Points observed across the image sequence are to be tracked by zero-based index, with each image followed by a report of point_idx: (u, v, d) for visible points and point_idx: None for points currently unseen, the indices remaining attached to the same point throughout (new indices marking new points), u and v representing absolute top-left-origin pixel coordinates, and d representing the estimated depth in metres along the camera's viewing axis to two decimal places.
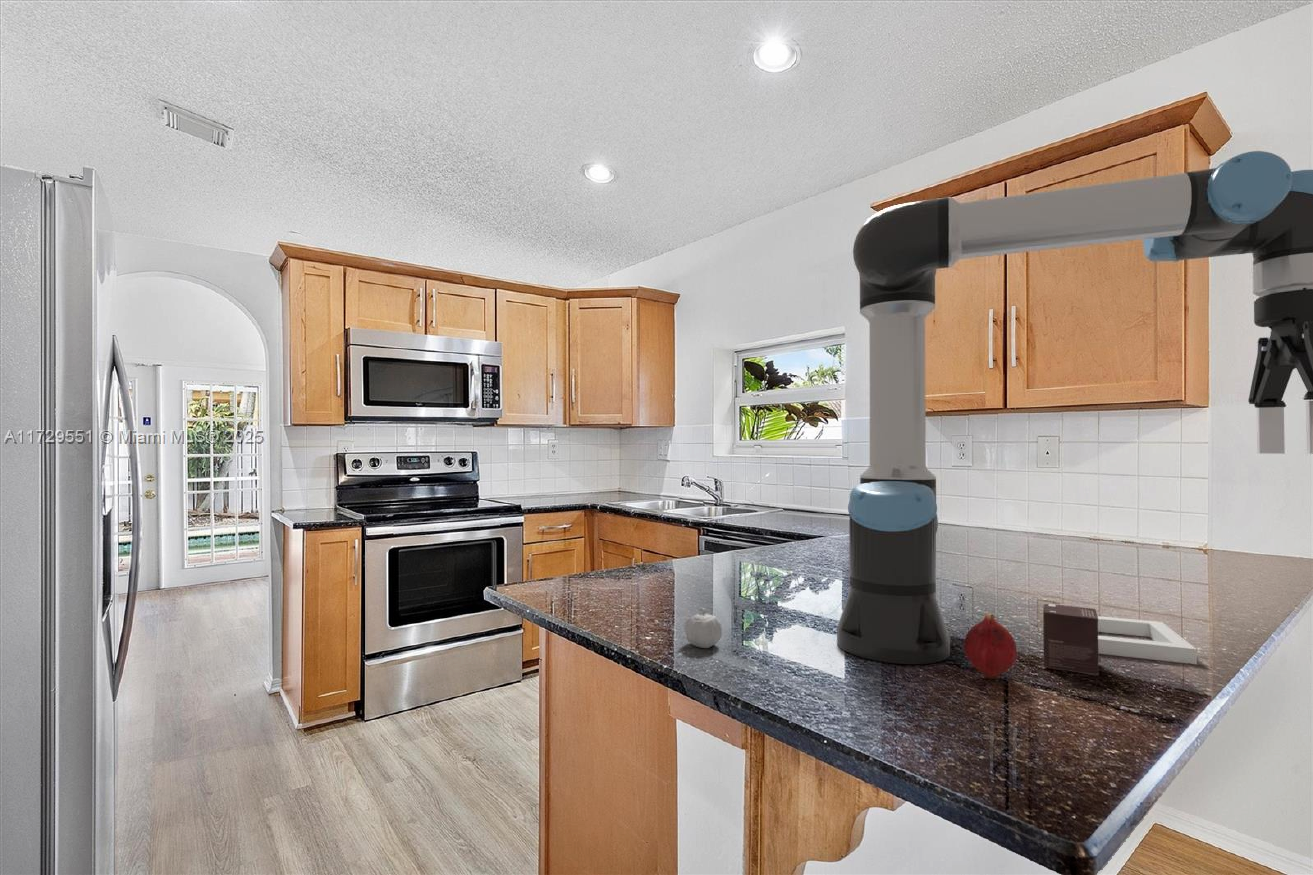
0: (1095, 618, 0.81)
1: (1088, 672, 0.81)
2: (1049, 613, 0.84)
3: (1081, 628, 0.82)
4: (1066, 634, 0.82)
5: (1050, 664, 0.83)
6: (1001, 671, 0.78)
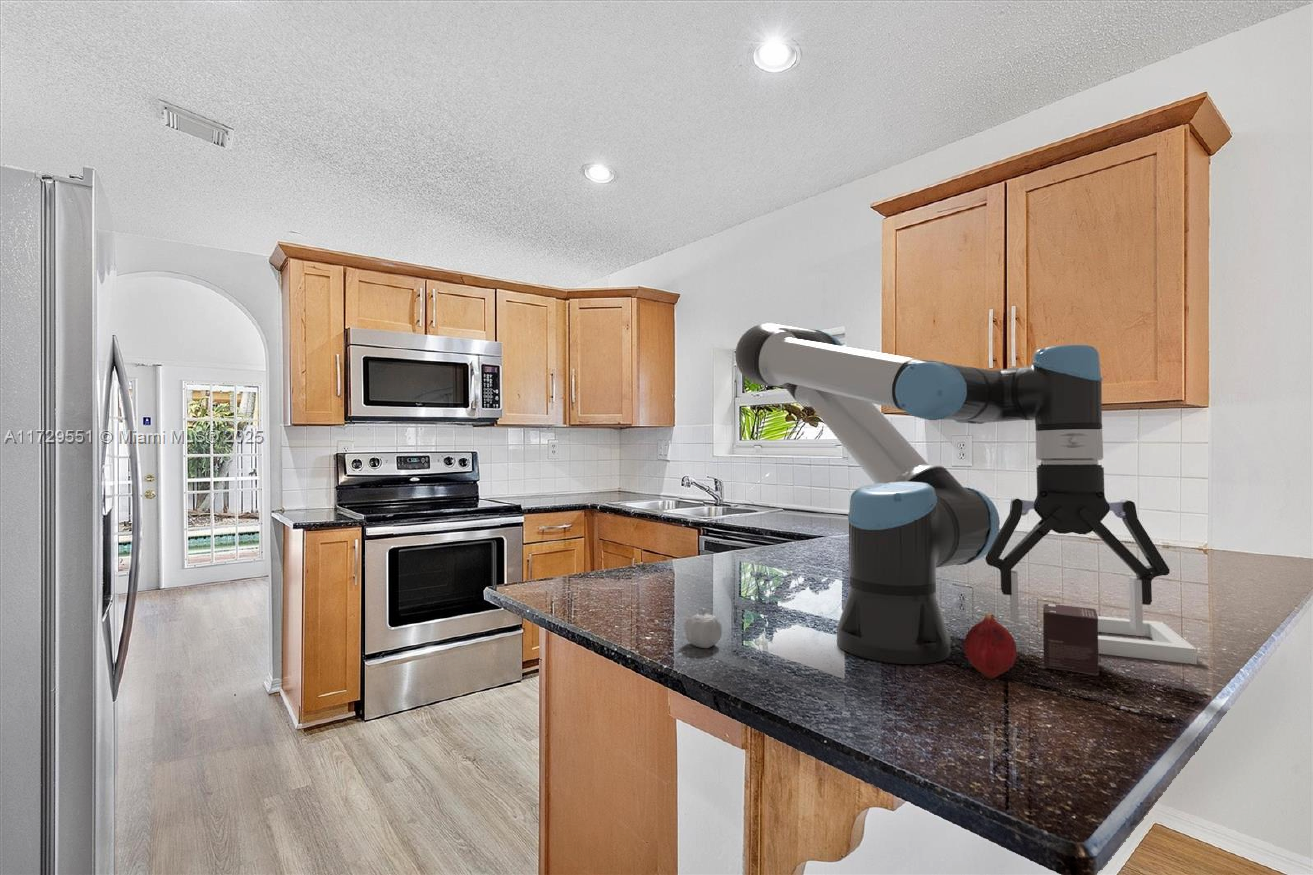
0: (1095, 618, 0.81)
1: (1088, 672, 0.81)
2: (1049, 613, 0.84)
3: (1081, 628, 0.82)
4: (1066, 634, 0.82)
5: (1050, 664, 0.83)
6: (1001, 671, 0.78)
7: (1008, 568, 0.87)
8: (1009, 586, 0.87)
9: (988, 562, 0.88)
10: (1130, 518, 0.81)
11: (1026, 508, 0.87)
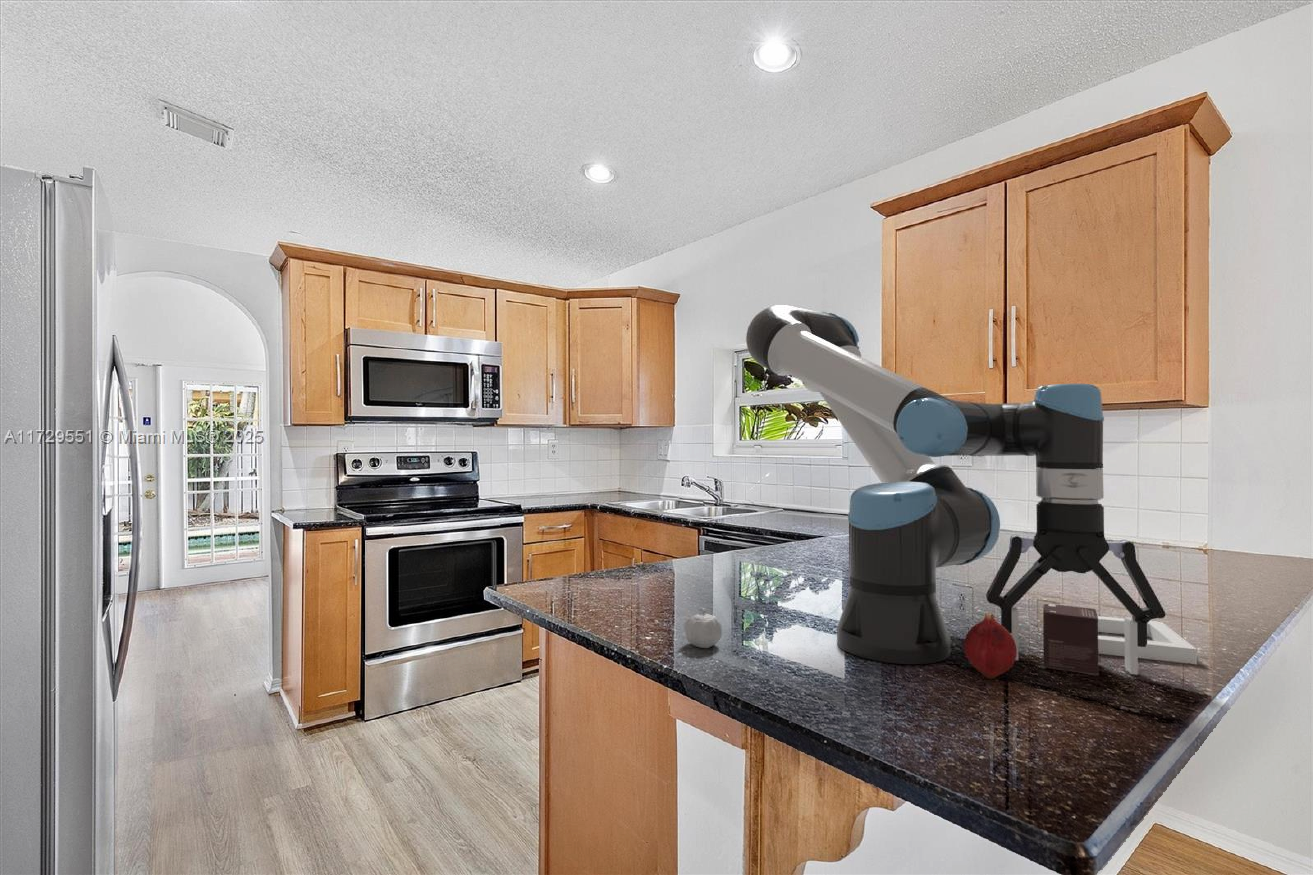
0: (1095, 618, 0.81)
1: (1088, 672, 0.81)
2: (1049, 613, 0.84)
3: (1081, 628, 0.82)
4: (1066, 634, 0.82)
5: (1050, 664, 0.83)
6: (1001, 671, 0.78)
7: (1009, 606, 0.87)
8: (1009, 625, 0.87)
9: (989, 600, 0.88)
10: (1129, 559, 0.81)
11: (1025, 545, 0.87)
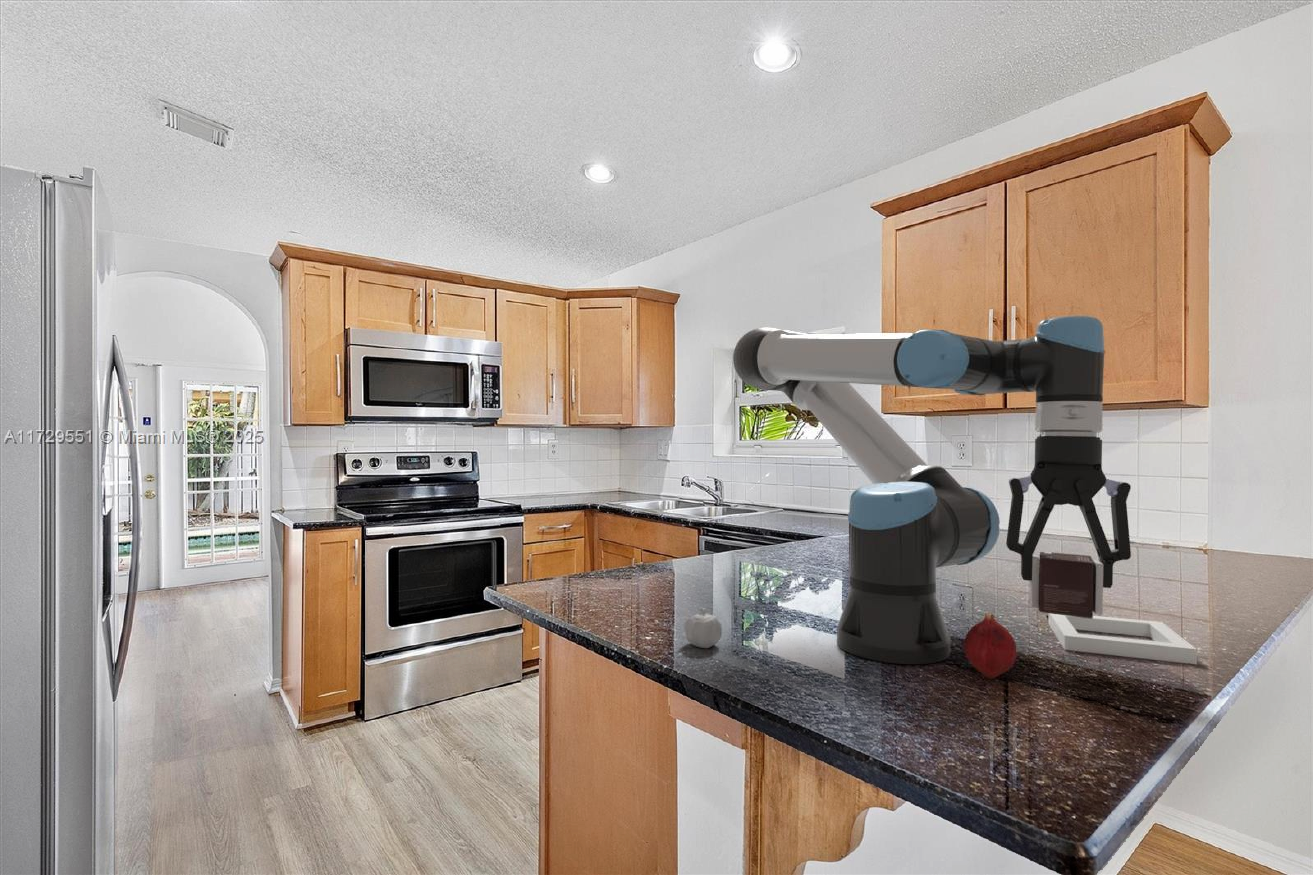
0: (1091, 562, 0.82)
1: (1082, 616, 0.82)
2: (1045, 558, 0.84)
3: (1076, 573, 0.82)
4: (1062, 579, 0.83)
5: (1045, 608, 0.84)
6: (1001, 671, 0.78)
7: (1030, 553, 0.86)
8: (1030, 572, 0.86)
9: (1010, 548, 0.87)
10: (1119, 499, 0.82)
11: (1025, 484, 0.87)
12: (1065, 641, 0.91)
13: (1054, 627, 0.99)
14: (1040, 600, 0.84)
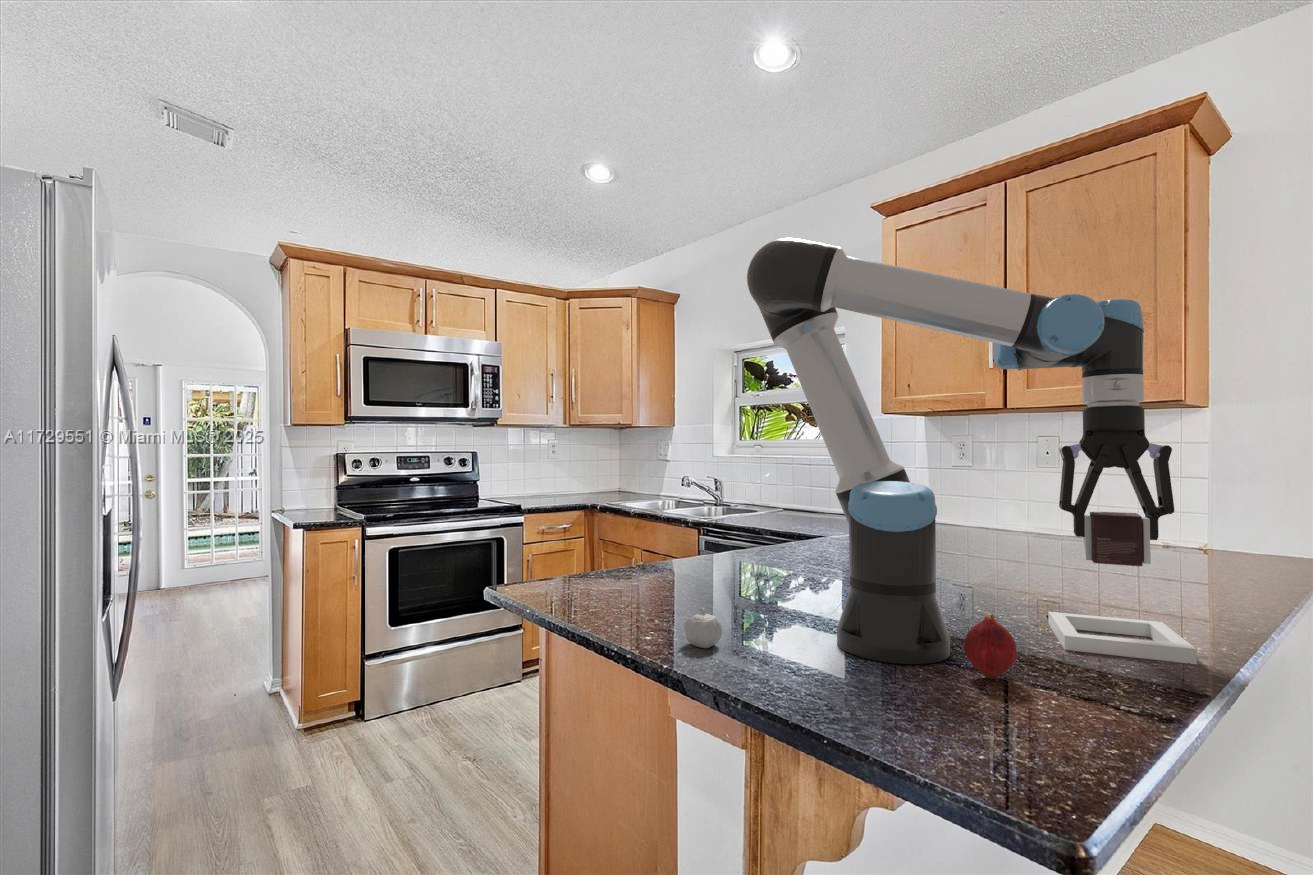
0: (1139, 516, 0.92)
1: (1133, 564, 0.92)
2: (1097, 515, 0.94)
3: (1126, 526, 0.92)
4: (1113, 532, 0.93)
5: (1099, 559, 0.94)
6: (1001, 671, 0.78)
7: (1082, 512, 0.96)
8: (1082, 529, 0.96)
9: (1064, 508, 0.97)
10: (1162, 460, 0.92)
11: (1075, 451, 0.97)
12: (1065, 641, 0.91)
13: (1054, 627, 0.99)
14: (1094, 552, 0.94)
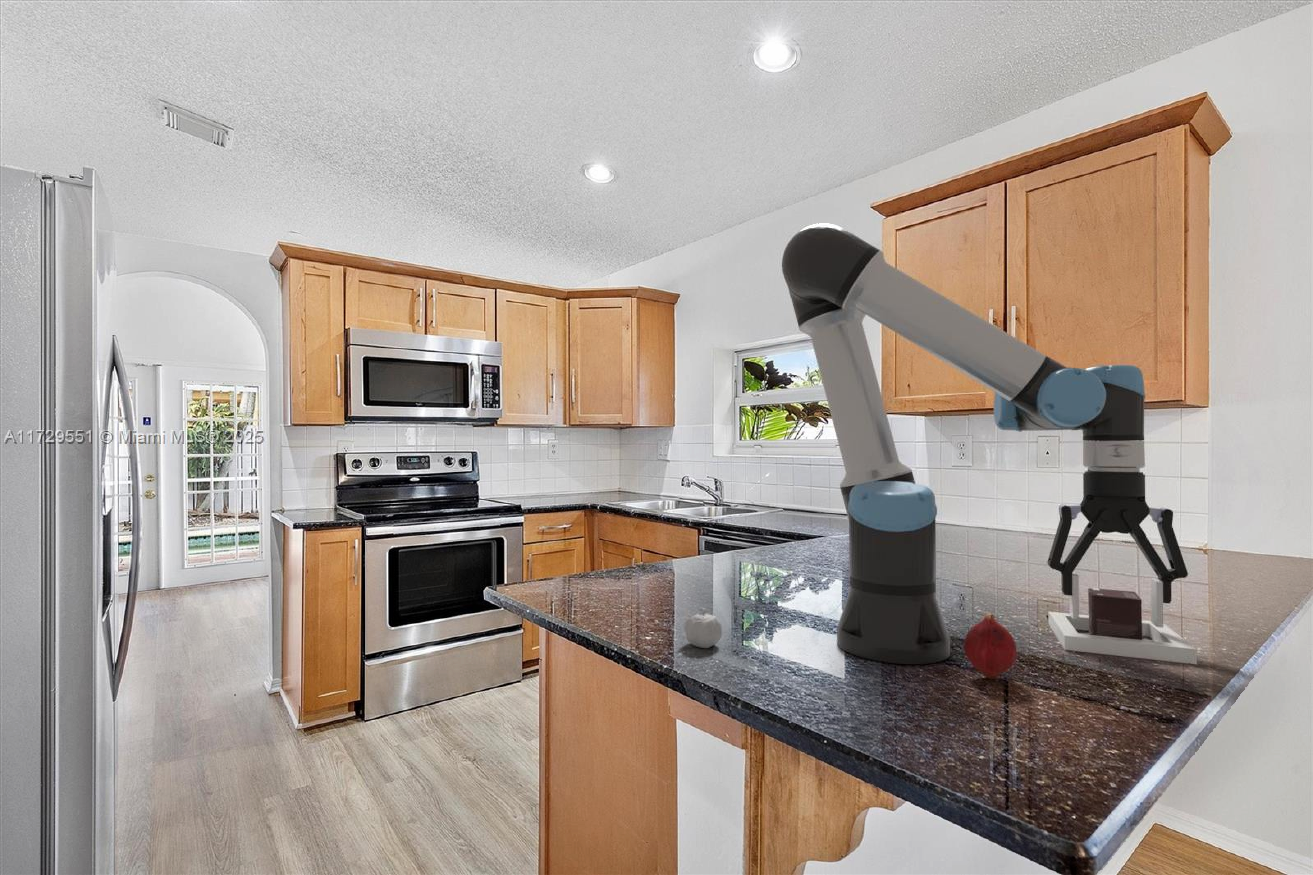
0: (1139, 599, 0.91)
1: None
2: (1097, 596, 0.94)
3: (1126, 608, 0.92)
4: (1113, 614, 0.93)
5: None
6: (1001, 671, 0.78)
7: (1070, 571, 0.96)
8: (1070, 588, 0.97)
9: (1051, 566, 0.97)
10: (1165, 524, 0.92)
11: (1074, 512, 0.97)
12: (1065, 641, 0.91)
13: (1054, 627, 0.99)
14: (1094, 633, 0.94)
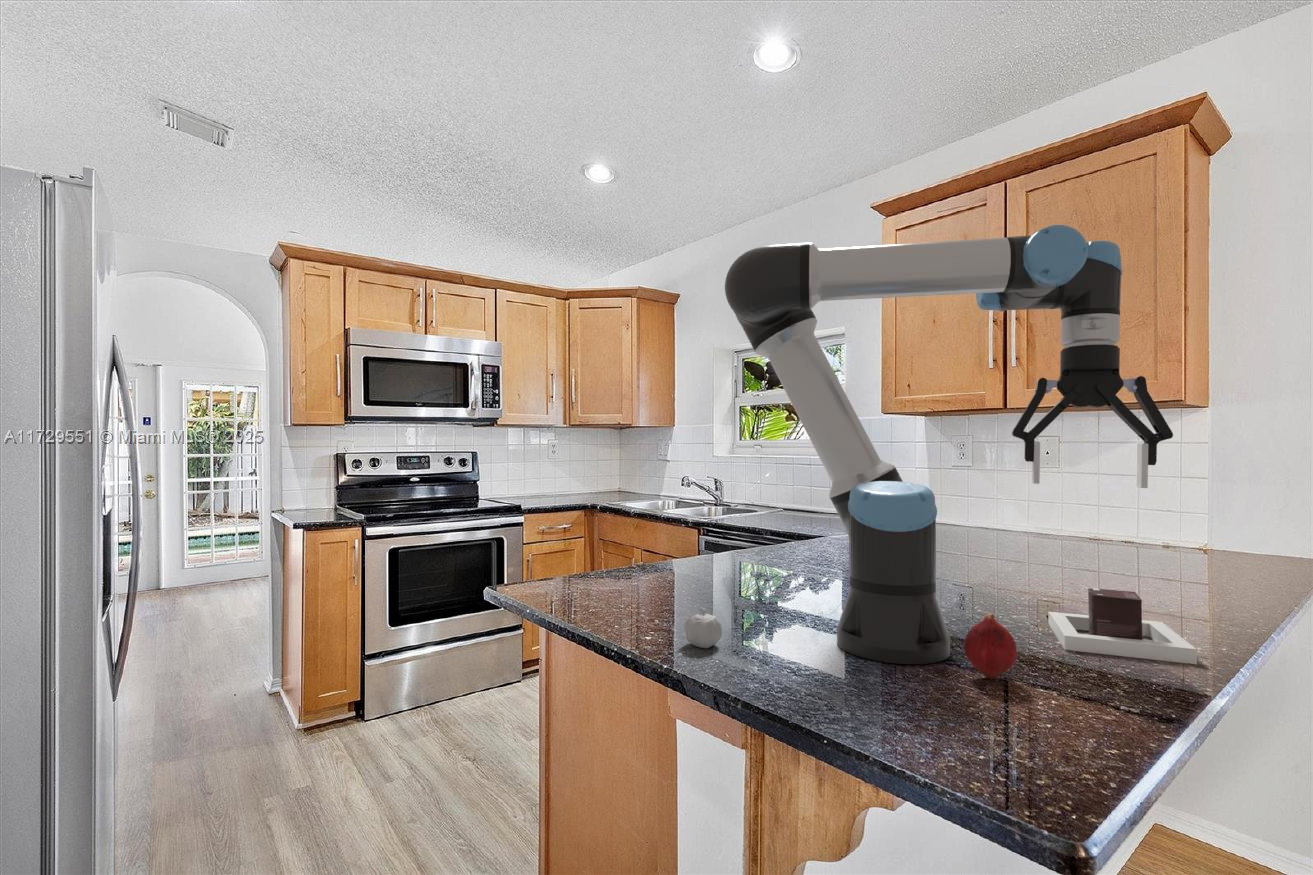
0: (1139, 599, 0.91)
1: None
2: (1097, 596, 0.94)
3: (1126, 609, 0.92)
4: (1113, 614, 0.93)
5: None
6: (1001, 671, 0.78)
7: (1032, 438, 1.00)
8: (1032, 454, 1.00)
9: (1014, 433, 1.01)
10: (1141, 391, 0.94)
11: (1050, 386, 1.00)
12: (1065, 641, 0.91)
13: (1054, 627, 0.99)
14: (1094, 633, 0.94)
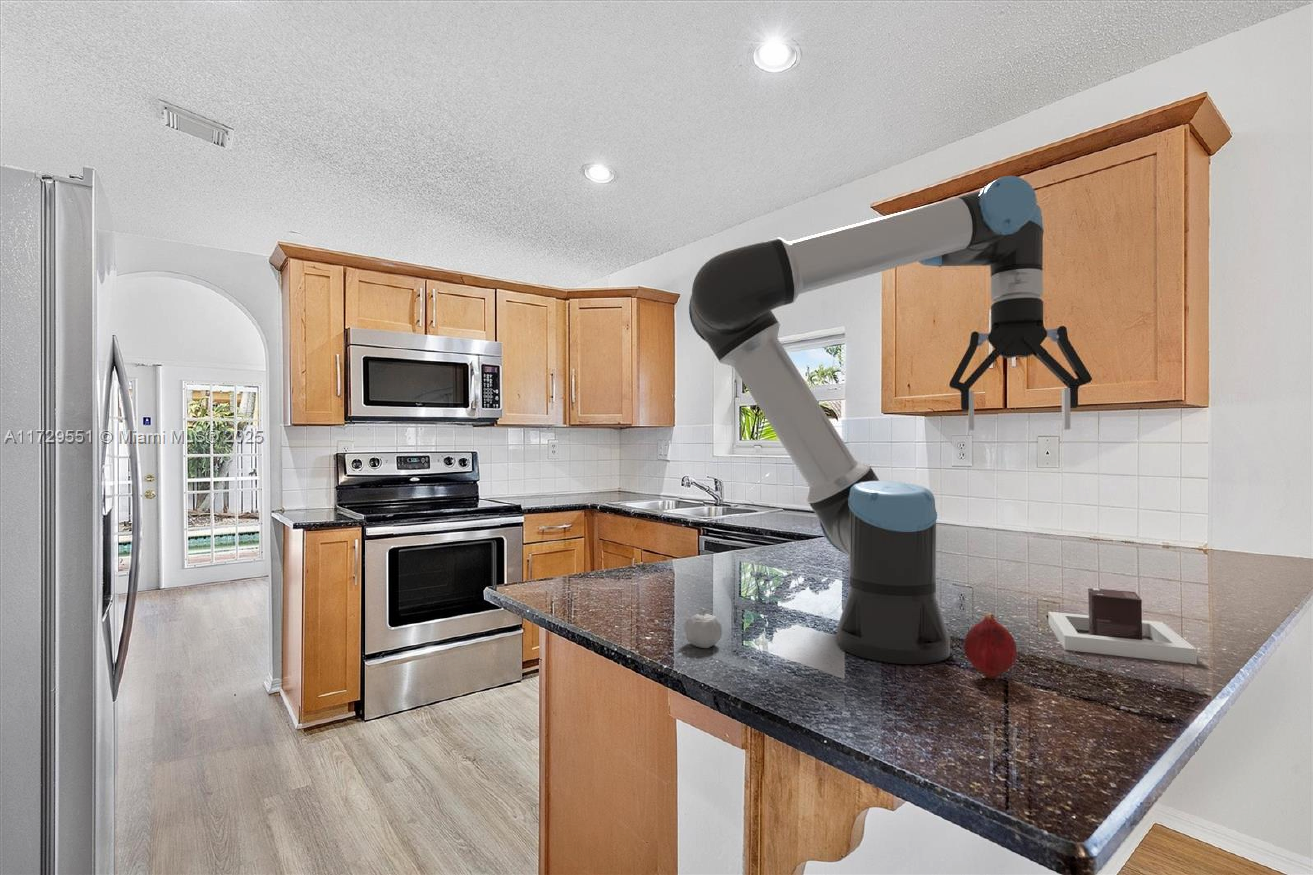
0: (1139, 599, 0.91)
1: None
2: (1097, 596, 0.94)
3: (1126, 609, 0.92)
4: (1113, 614, 0.93)
5: None
6: (1001, 671, 0.78)
7: (966, 387, 1.07)
8: (967, 403, 1.08)
9: (951, 384, 1.08)
10: (1062, 339, 1.02)
11: (982, 339, 1.07)
12: (1065, 641, 0.91)
13: (1054, 627, 0.99)
14: (1094, 633, 0.94)
